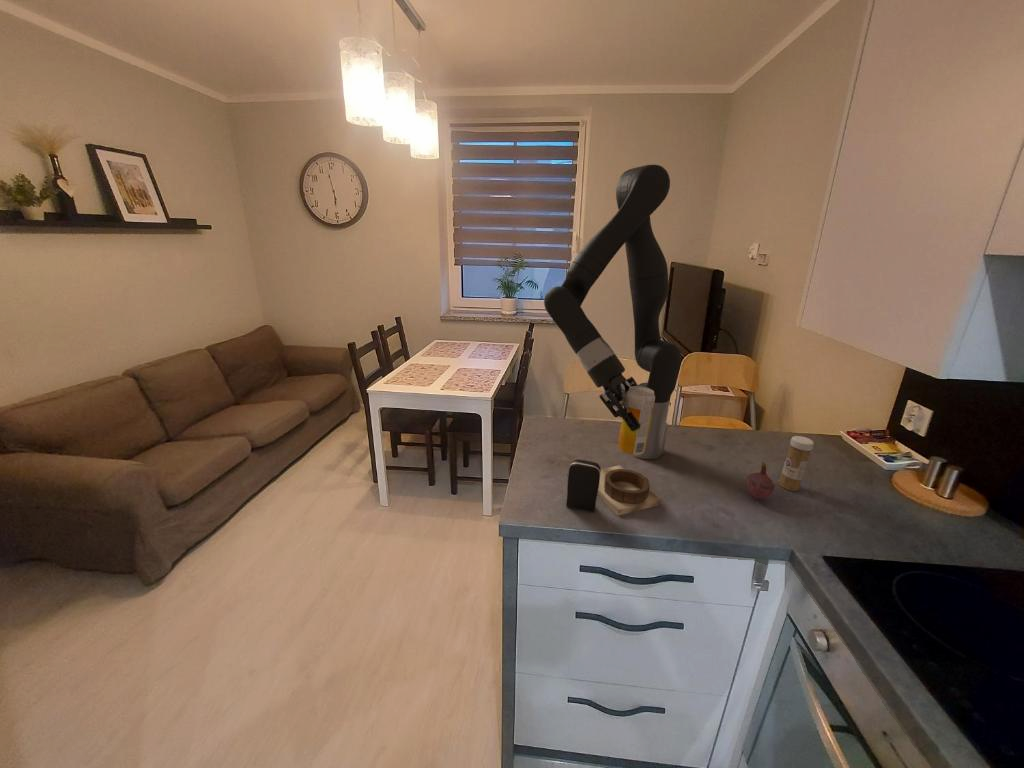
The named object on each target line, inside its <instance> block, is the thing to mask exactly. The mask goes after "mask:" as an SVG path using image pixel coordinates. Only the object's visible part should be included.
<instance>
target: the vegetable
mask: <svg viewBox="0 0 1024 768" xmlns="http://www.w3.org/2000/svg"><path fill="white" fill-rule="evenodd" d="M745 487H746V489H747V490H748V493H750V495H751V497H752V498H753V499H755V500H761V499H767V498H770V497H771V496H772V495H773V494H774V492H775V483H774V481H773V479H772V478H771V477H770V476H768V474H767V463H765V462H764V461H762V462H761V468H760V472H755V473H754V472H753V473H751V474H749V475H748V476H746V479H745Z"/></svg>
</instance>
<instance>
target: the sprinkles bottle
mask: <svg viewBox="0 0 1024 768" xmlns="http://www.w3.org/2000/svg"><path fill="white" fill-rule="evenodd" d="M814 443H815V442H814V441H813V440H812V439H810V438H808V437H805V436H800V435H793V436H792V437H791V439H790V442H789V445H790V446H789V449H788V452H787V456H786V459H785V461H784V464H783V466H782V467H783V468H782V472H781V475H780V479H779V480H778V484H779V486H780V487H781V488H783V489H785V490H787V491H793V492H797V491H799V490H800V488H801V487H800V486H801V482H802V480H803V478H804V474H805V471H806V468H807V464H808V462H809V457H810V455H811V452H812V450H813V448H814Z"/></svg>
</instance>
